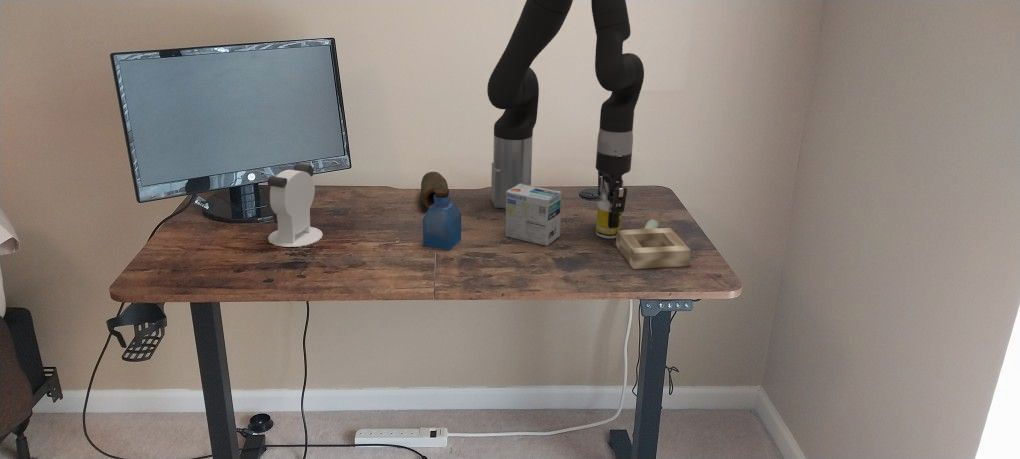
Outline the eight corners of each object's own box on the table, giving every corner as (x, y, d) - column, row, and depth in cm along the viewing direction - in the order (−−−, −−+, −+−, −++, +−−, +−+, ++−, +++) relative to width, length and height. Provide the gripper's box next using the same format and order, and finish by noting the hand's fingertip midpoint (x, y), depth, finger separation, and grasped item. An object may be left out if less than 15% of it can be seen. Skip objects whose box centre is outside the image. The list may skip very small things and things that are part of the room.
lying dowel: (643, 244, 171) (653, 240, 170) (638, 234, 171) (648, 230, 169) (650, 231, 178) (660, 227, 177) (645, 221, 178) (655, 217, 176)
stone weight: (452, 212, 185) (452, 186, 182) (422, 214, 183) (422, 187, 181) (445, 191, 198) (445, 166, 196) (418, 192, 197) (417, 167, 194)
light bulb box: (560, 236, 173) (563, 190, 168) (547, 247, 167) (549, 199, 163) (518, 226, 177) (519, 182, 173) (503, 236, 172) (504, 190, 168)
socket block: (633, 269, 158) (634, 253, 156) (615, 245, 169) (617, 230, 167) (689, 265, 160) (691, 250, 158) (668, 242, 171) (670, 227, 169)
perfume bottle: (461, 239, 170) (461, 187, 165) (449, 250, 164) (449, 197, 160) (435, 235, 172) (434, 183, 167) (423, 246, 166) (422, 193, 162)
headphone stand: (290, 223, 176) (284, 159, 170) (334, 230, 173) (329, 166, 167) (257, 243, 166) (250, 176, 160) (303, 251, 162) (297, 183, 156)
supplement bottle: (619, 240, 171) (622, 198, 167) (594, 237, 172) (597, 196, 168) (620, 231, 176) (624, 190, 172) (597, 228, 177) (599, 188, 173)
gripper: (588, 140, 172) (584, 211, 179) (607, 159, 159) (601, 235, 166) (621, 139, 174) (615, 210, 180) (642, 158, 161) (635, 234, 167)
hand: (608, 222), depth 173 cm, fingers closed on supplement bottle, 5 cm apart
